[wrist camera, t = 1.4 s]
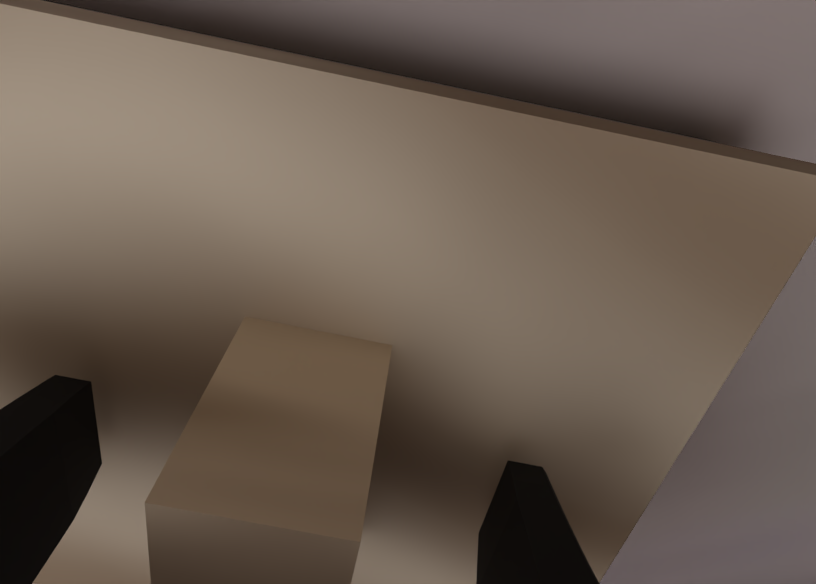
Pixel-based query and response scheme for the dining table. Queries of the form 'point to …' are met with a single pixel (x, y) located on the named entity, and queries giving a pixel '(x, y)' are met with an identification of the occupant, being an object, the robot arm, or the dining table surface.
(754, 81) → the dining table surface
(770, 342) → the dining table surface
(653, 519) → the dining table surface
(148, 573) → the lid
